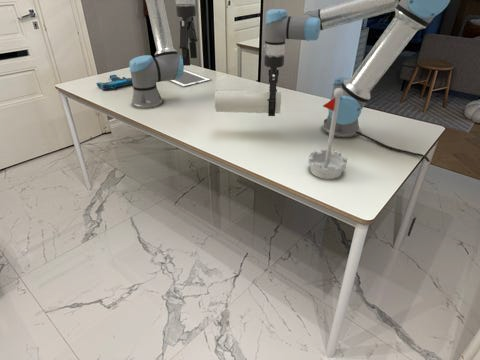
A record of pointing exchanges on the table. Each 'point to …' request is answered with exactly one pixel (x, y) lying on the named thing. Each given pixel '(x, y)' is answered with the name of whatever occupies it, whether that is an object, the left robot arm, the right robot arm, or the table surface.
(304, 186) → the table surface
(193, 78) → the tablet
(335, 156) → the flag stand
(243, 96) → the white cylinder
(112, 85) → the submachine gun
